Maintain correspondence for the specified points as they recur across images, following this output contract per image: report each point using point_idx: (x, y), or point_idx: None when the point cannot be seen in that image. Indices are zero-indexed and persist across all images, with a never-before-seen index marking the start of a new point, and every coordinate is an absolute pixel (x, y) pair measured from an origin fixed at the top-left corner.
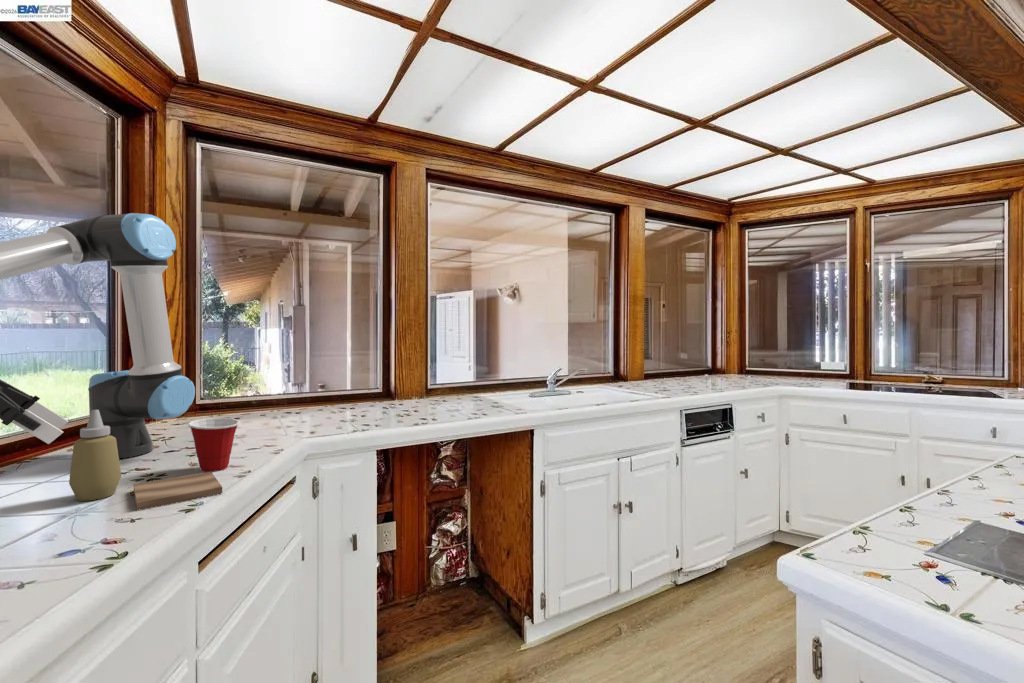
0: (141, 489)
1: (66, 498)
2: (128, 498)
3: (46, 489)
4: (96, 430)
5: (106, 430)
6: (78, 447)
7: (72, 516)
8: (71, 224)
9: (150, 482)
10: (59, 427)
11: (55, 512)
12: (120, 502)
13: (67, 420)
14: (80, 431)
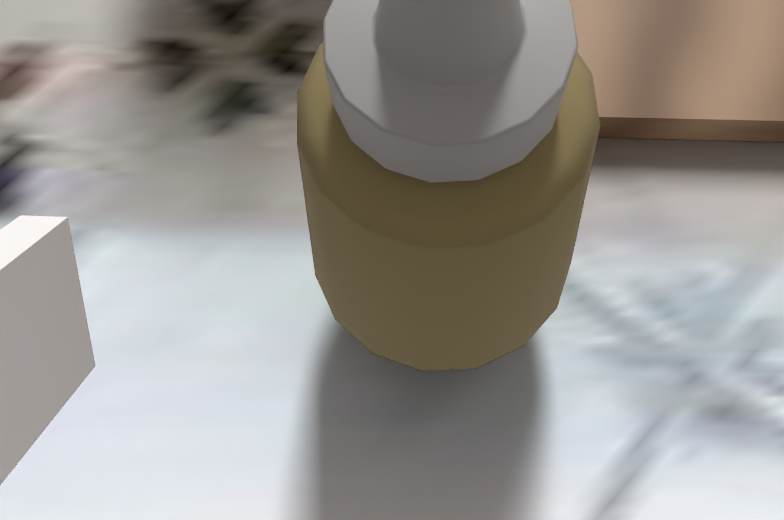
0: (613, 91)
1: (357, 405)
2: None
3: (47, 499)
4: (574, 29)
5: None
6: (543, 230)
7: (755, 380)
8: None
9: None
10: (78, 319)
11: (618, 450)
12: (642, 193)
13: (12, 221)
14: (483, 149)
